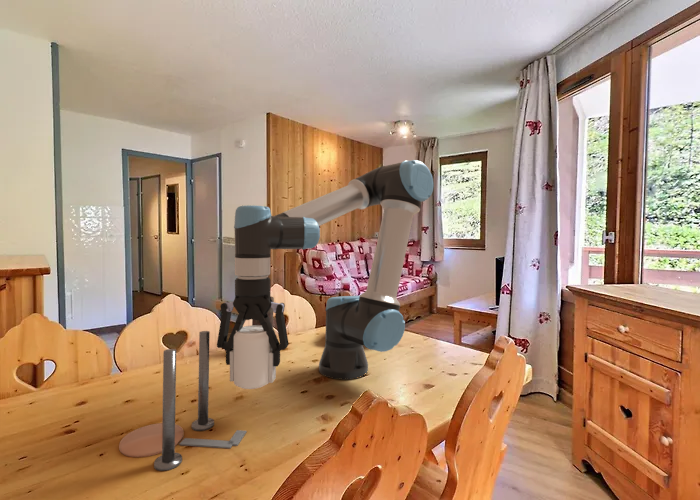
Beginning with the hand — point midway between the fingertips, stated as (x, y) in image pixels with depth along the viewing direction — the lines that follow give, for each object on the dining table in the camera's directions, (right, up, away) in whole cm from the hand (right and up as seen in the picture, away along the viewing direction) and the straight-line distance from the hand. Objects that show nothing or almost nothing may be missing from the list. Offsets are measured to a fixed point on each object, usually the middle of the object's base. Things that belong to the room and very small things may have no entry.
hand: (253, 379), depth 80 cm
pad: (-17, -9, -9) cm, 21 cm away
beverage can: (0, -1, 0) cm, 1 cm away
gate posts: (-10, -9, -9) cm, 17 cm away
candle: (-10, -8, +48) cm, 49 cm away
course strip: (-6, -9, -8) cm, 13 cm away
